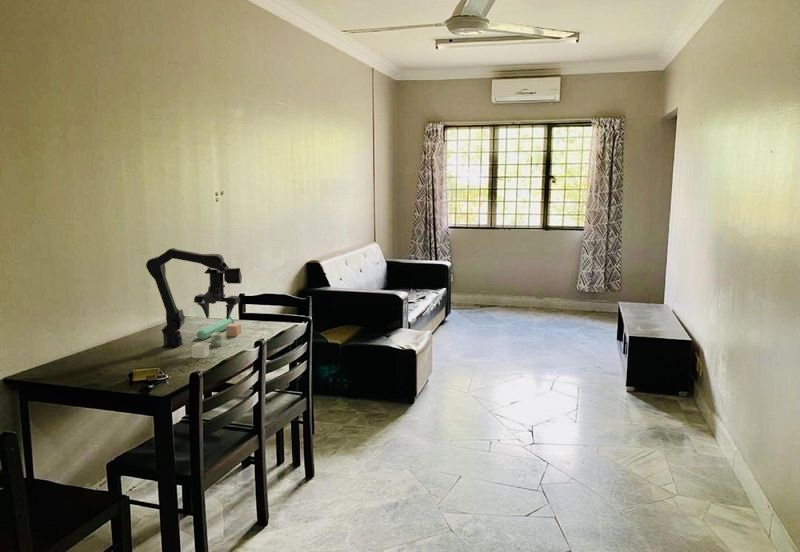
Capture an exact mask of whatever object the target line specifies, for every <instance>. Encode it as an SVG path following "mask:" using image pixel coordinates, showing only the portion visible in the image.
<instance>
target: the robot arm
mask: <svg viewBox="0 0 800 552" xmlns="http://www.w3.org/2000/svg"><path fill="white" fill-rule="evenodd" d="M172 259H175V260H181V261H184V262H185V261H186V262H190V263H195V264H196V263H197V264H200V265H202V266H204V267H207V269H206V270H205V271H204V274H209V286H208V287H207V288H208V290H207V292H205V294H204V293H202V294H201V293H200V294H199V293H198V294H197V295H195V296H194V297H193V298H194V299H193V302H194V303H196V305H198V306H200V307H201V308H202V310H203V312H204V315H205V318H206V319H209V317H210V304H212V305H215V304H217V303H218V302H221V303H226V304H225V307H226V317H227V319H229V317H231V314H232V311H233V309H234V307H235V306H237V305H238V304H240V302H241V297H240V296H239V295H230V296H227V297H226V294H225V292H224V291H225V287H226V284H228V285H229V284H234V285H236V284H237V285H238V284H242V271H241V268H240V267H236V268H234V267H233V268H232V267H229V266H228V265H227V263H226V262H225V259H224V257H223V255H222V254H220V253H200V252H199V253H198V252H193V251H187V250H181V249H177V248H174V247H172V248H170V249H167V250H166V251H165V252H164V253H162V254H160V255H159V256H155V257H153V258H150V259H149V260H147V262H146V263H145V267H146V269H147V271H148V273H149V275H150V276H151V277H152V278H153V280H154V281H155V284H156V287H157V290H158V293H159V295H160V298H161V300H162V303H163V306H164V309H165V319H166V320H165V322H166V325H165V326H164V327H163V328H162V329H161V332H162V335H163V336H162V337H163V345H162V346H161V348H174V349H175V348H178V347H180V346H182V345H183V344H184V342H183V341H182V339H183V338H182V334H181V331H180V329H181V327H183V325H185V319H186V316H185V315H184V312H183V311H184V310H183V309H179V308H178V307H177V305H176V303H175V299H174V296H173V294H172V291H171V287H170V286H169V283H168V279H167V275H166V265H165V264H167V263H168V262H169V261H171V260H172ZM224 282H225V283H226V284H224Z"/></svg>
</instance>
